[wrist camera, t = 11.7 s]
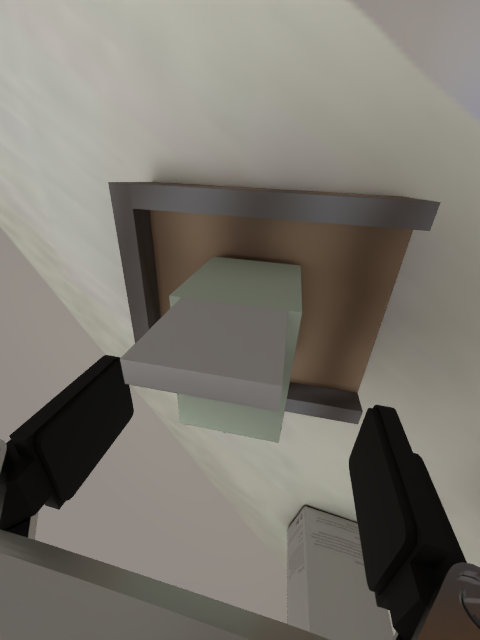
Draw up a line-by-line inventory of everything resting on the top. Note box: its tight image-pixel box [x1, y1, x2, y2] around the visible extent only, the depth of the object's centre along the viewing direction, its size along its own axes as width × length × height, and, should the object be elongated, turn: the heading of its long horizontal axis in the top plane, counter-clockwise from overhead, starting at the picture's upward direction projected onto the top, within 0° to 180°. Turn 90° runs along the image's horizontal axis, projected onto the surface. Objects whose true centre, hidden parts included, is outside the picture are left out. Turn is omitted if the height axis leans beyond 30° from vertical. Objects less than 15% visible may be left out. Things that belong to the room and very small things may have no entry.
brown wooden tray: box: [108, 182, 440, 424], centre depth 18 cm, size 16×14×5 cm
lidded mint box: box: [120, 256, 302, 443], centre depth 13 cm, size 5×7×11 cm
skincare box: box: [287, 506, 394, 640], centre depth 26 cm, size 8×7×16 cm
